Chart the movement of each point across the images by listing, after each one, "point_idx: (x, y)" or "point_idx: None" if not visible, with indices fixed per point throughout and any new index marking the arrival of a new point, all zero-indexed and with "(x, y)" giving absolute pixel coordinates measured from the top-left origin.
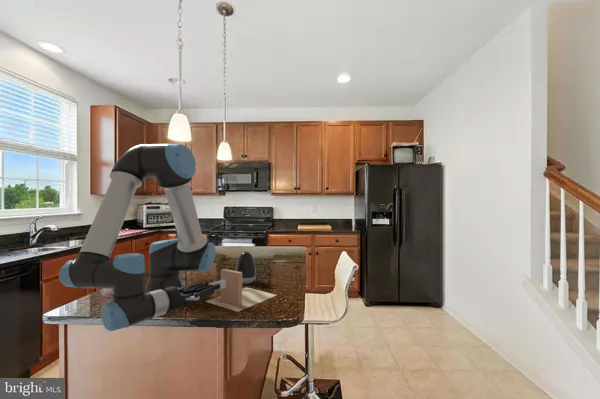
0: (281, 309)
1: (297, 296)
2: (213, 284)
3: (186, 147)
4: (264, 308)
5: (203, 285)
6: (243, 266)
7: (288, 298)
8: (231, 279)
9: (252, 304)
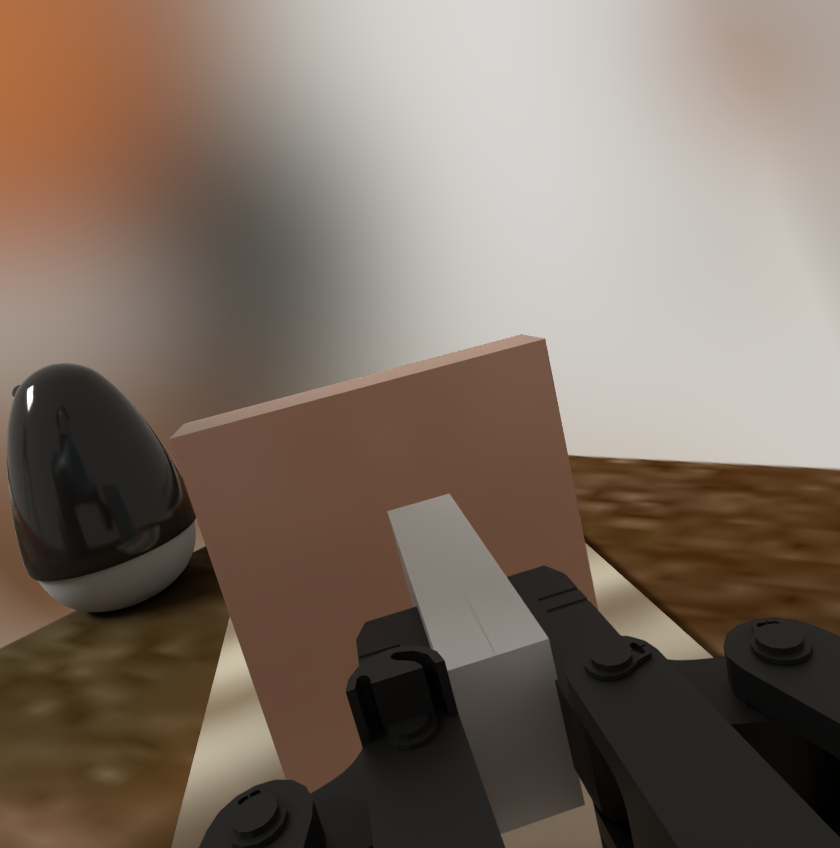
0: (819, 524)
1: (604, 463)
2: (531, 626)
3: None
4: (747, 588)
5: (490, 818)
6: (106, 467)
7: (610, 486)
8: (435, 475)
9: (652, 621)
